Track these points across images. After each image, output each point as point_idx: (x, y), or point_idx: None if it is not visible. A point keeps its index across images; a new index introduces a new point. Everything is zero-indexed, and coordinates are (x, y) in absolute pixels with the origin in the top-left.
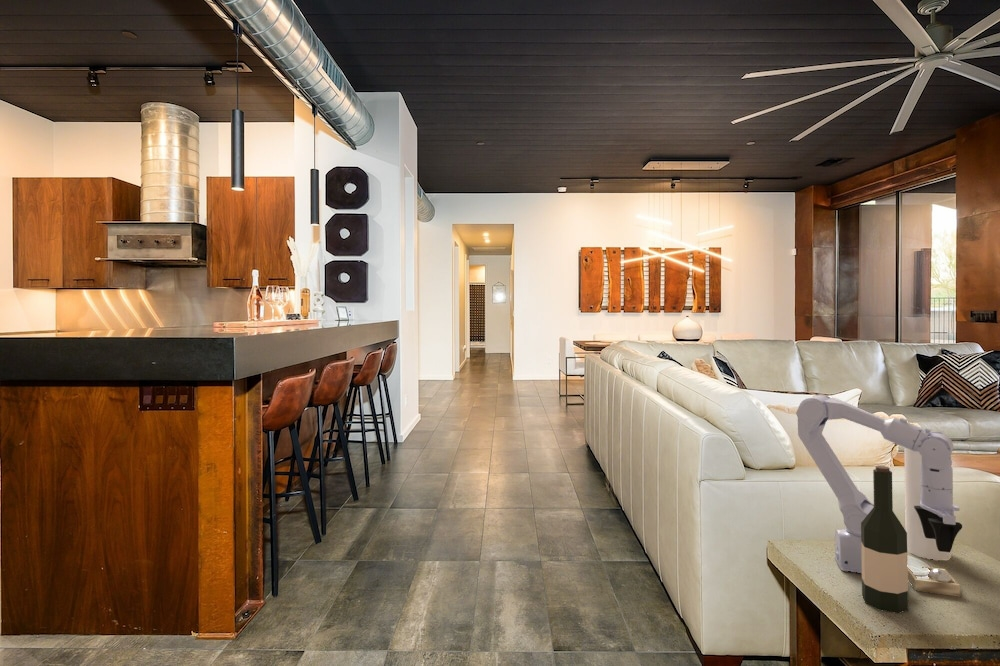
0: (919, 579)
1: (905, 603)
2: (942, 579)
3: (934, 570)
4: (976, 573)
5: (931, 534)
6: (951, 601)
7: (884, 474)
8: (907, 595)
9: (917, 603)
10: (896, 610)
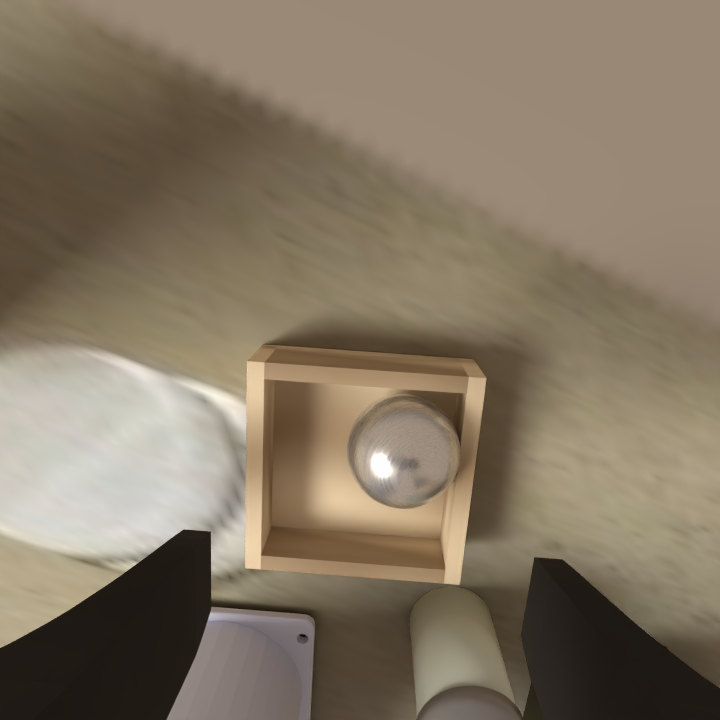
0: (451, 563)
1: None
2: (458, 462)
3: (412, 501)
4: (91, 102)
5: (193, 600)
6: (538, 426)
7: None
8: None
9: None
10: None
